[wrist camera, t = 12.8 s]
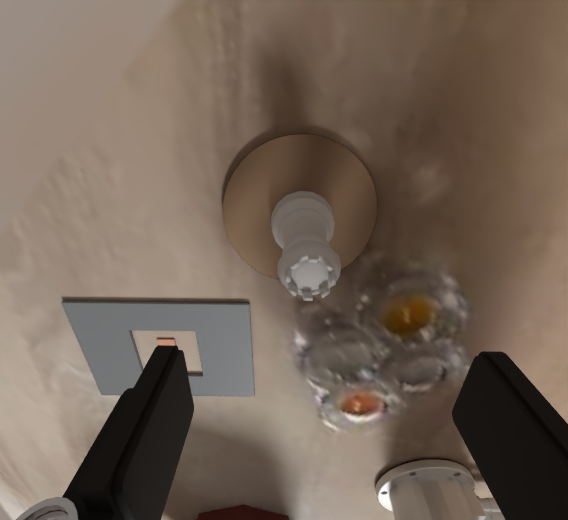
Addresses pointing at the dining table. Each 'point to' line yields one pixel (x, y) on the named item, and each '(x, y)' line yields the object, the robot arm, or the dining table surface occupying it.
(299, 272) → the rook chess piece
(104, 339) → the grey frame plate
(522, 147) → the dining table surface
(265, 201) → the walnut coaster
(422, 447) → the dining table surface
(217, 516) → the bucket
